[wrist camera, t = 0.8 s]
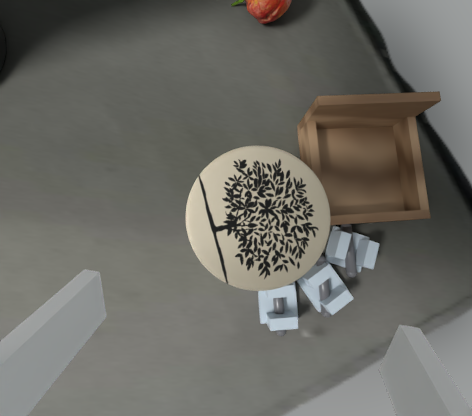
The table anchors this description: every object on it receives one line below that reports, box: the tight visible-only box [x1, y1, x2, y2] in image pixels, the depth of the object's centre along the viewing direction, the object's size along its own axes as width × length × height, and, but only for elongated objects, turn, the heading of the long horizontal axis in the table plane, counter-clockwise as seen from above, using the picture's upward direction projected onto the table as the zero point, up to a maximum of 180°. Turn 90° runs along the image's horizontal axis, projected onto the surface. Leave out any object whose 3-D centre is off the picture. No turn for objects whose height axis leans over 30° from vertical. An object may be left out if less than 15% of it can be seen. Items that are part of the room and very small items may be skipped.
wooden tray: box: [297, 92, 441, 225], centre depth 29 cm, size 13×13×7 cm
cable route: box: [258, 224, 379, 336], centre depth 29 cm, size 12×14×3 cm
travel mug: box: [186, 146, 330, 291], centre depth 22 cm, size 8×8×18 cm
